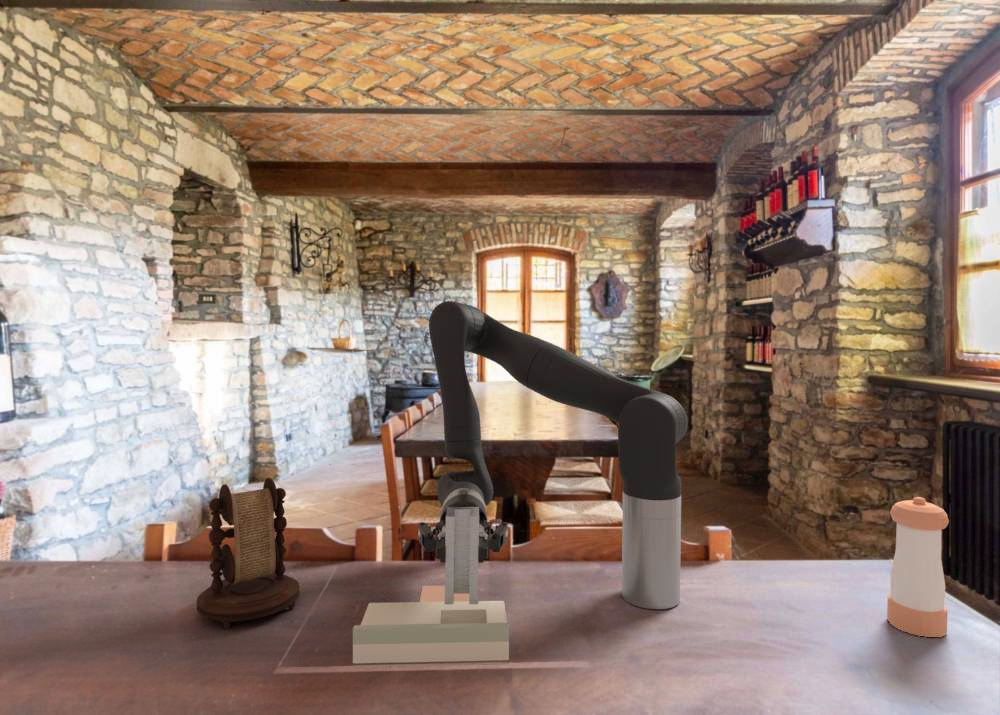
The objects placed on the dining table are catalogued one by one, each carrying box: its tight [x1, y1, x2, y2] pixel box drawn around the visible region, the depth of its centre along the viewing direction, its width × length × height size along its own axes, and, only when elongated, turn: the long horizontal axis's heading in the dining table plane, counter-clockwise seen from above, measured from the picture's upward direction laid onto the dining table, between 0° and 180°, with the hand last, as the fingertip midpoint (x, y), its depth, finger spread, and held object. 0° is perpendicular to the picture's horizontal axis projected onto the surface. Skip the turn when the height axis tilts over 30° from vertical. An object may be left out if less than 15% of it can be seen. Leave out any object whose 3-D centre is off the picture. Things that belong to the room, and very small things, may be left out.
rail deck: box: [352, 600, 510, 669], centre depth 82 cm, size 12×20×5 cm, turn 93°
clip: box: [444, 507, 480, 604], centre depth 82 cm, size 4×4×12 cm
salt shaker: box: [886, 496, 950, 638], centre depth 87 cm, size 7×7×19 cm
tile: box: [419, 585, 469, 602], centre depth 96 cm, size 8×8×1 cm
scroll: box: [196, 477, 301, 630], centre depth 92 cm, size 15×15×20 cm
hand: (462, 555), depth 80 cm, fingers closed on clip, 4 cm apart
